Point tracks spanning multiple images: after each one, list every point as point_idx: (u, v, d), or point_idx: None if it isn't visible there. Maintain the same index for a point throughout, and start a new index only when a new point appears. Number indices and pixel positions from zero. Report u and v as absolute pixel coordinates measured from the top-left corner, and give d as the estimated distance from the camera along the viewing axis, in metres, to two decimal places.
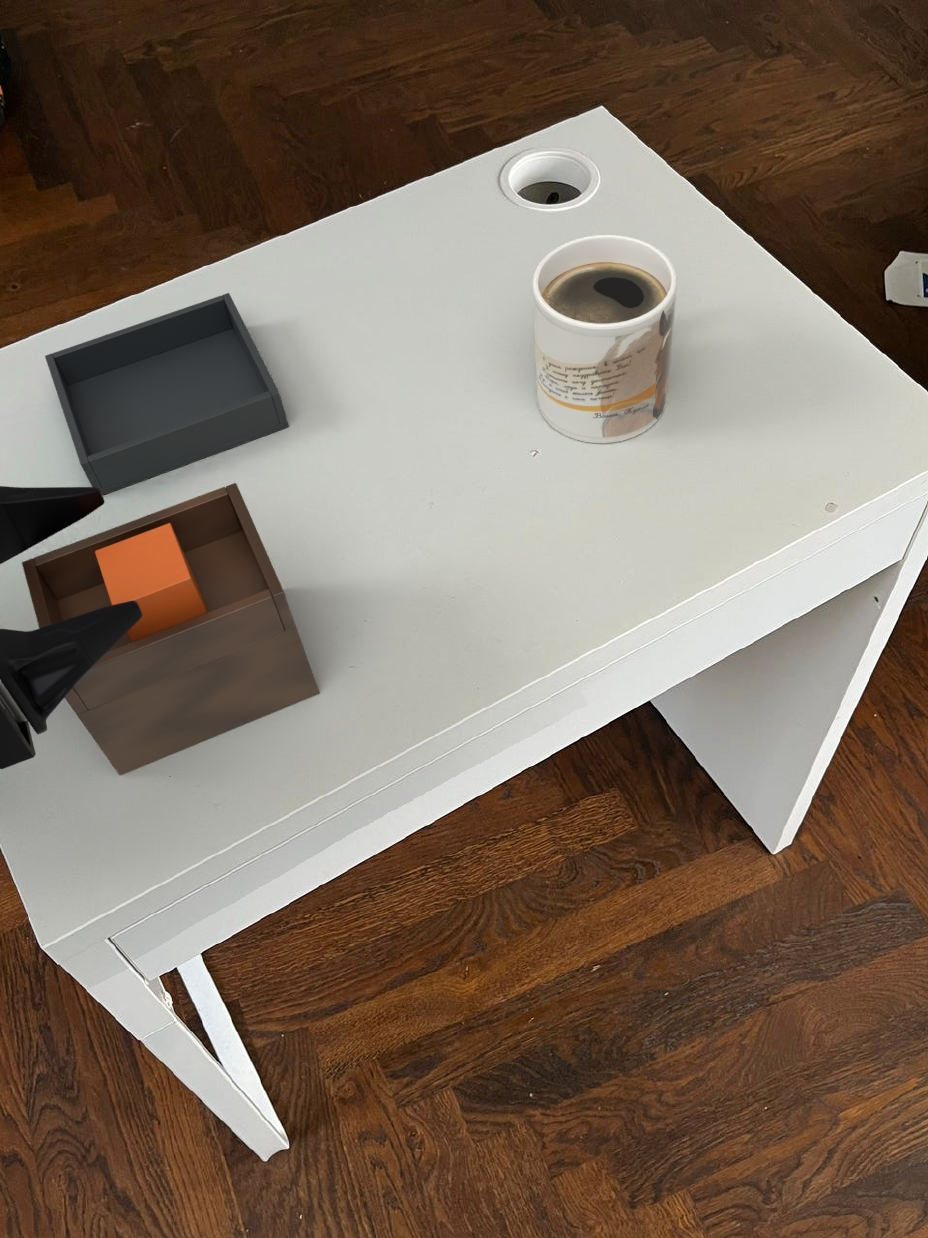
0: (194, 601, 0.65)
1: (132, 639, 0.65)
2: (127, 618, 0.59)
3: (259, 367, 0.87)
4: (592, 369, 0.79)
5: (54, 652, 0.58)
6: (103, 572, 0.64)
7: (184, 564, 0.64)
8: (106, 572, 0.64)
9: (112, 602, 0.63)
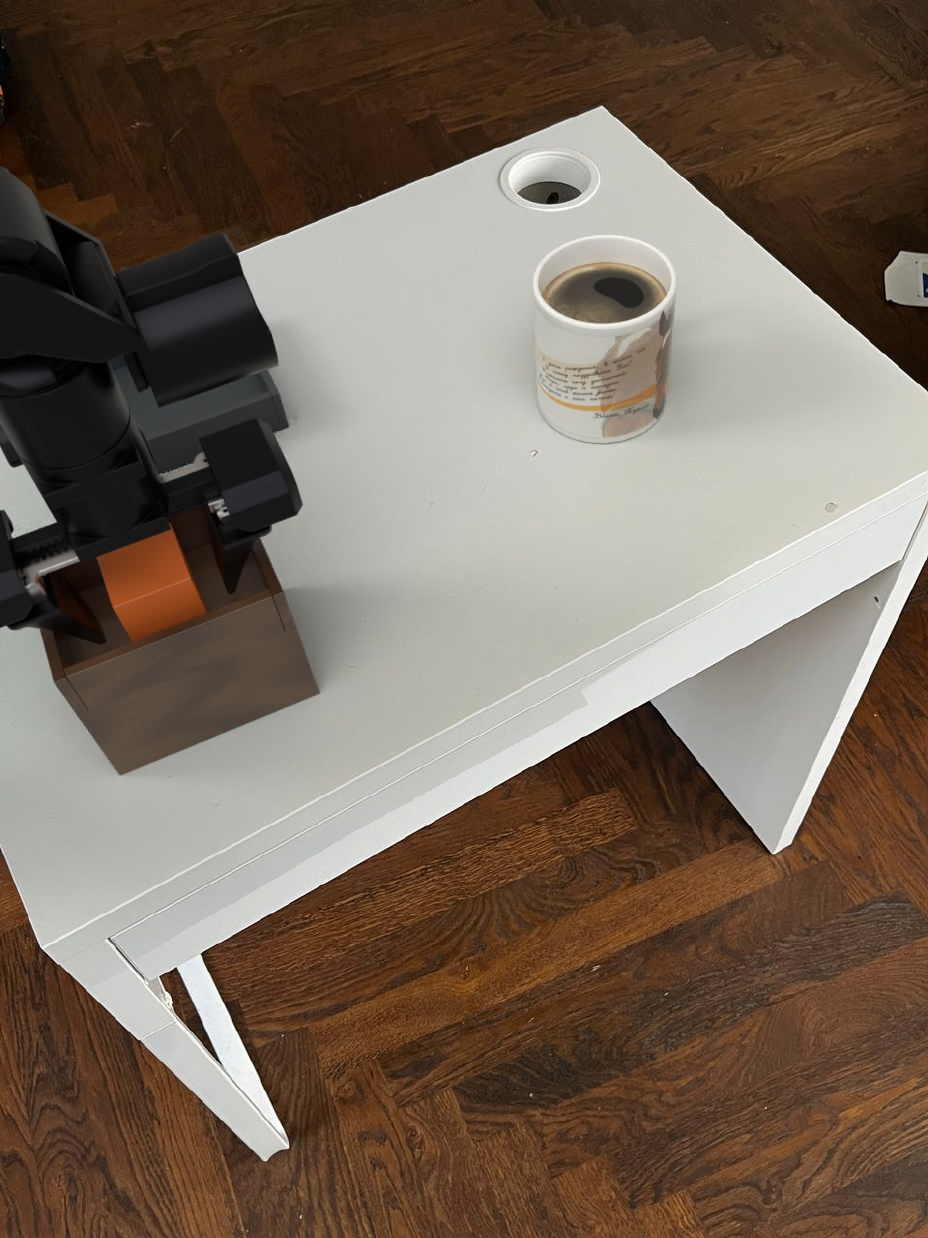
0: (194, 601, 0.65)
1: (132, 639, 0.65)
2: None
3: None
4: (592, 369, 0.79)
5: None
6: (103, 572, 0.64)
7: (184, 564, 0.64)
8: (106, 572, 0.64)
9: (112, 602, 0.63)
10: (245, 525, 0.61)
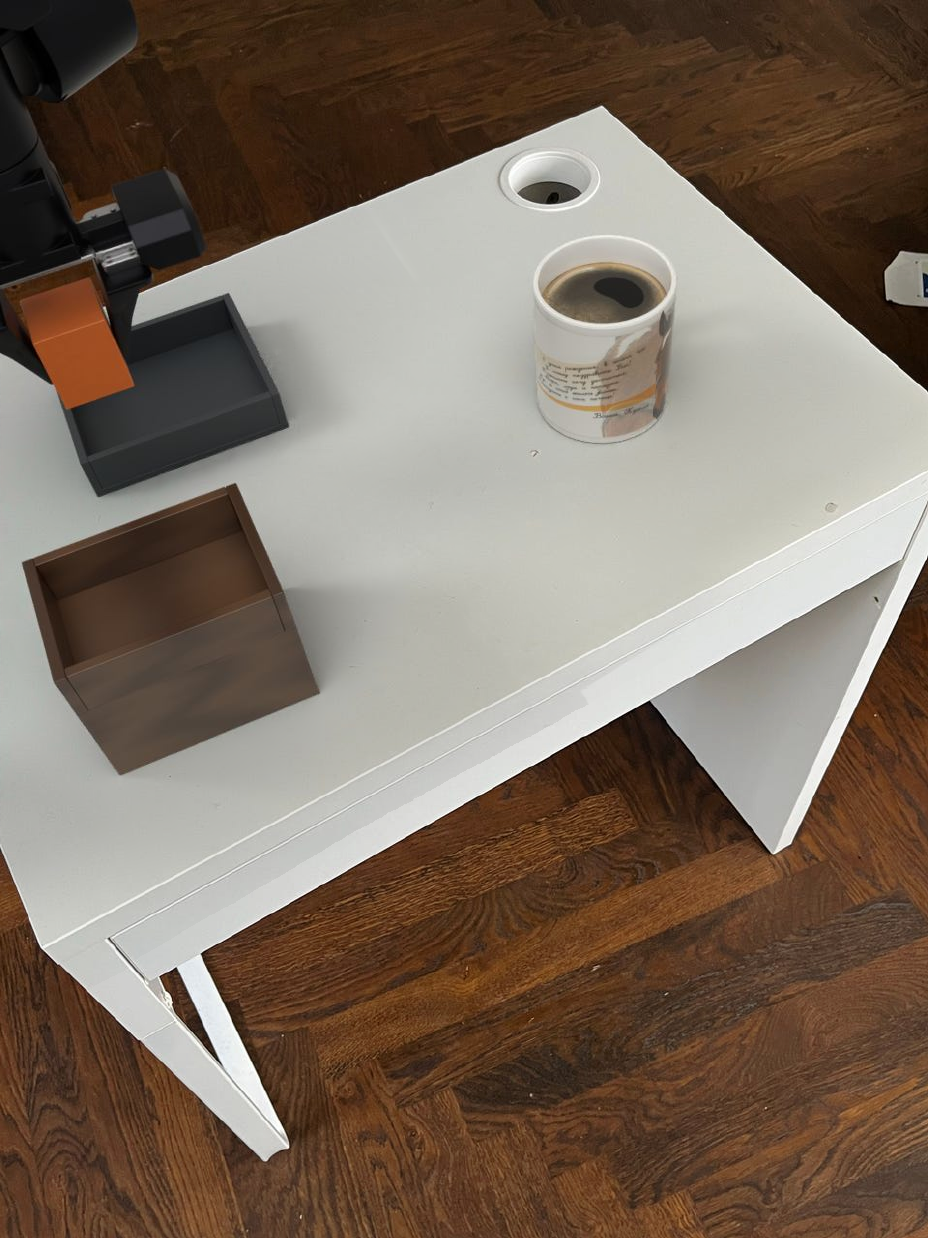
0: (110, 346, 0.71)
1: (54, 382, 0.71)
2: None
3: (259, 367, 0.87)
4: (592, 369, 0.79)
5: None
6: (26, 316, 0.70)
7: (100, 309, 0.70)
8: (28, 316, 0.70)
9: (32, 339, 0.69)
10: (151, 261, 0.66)
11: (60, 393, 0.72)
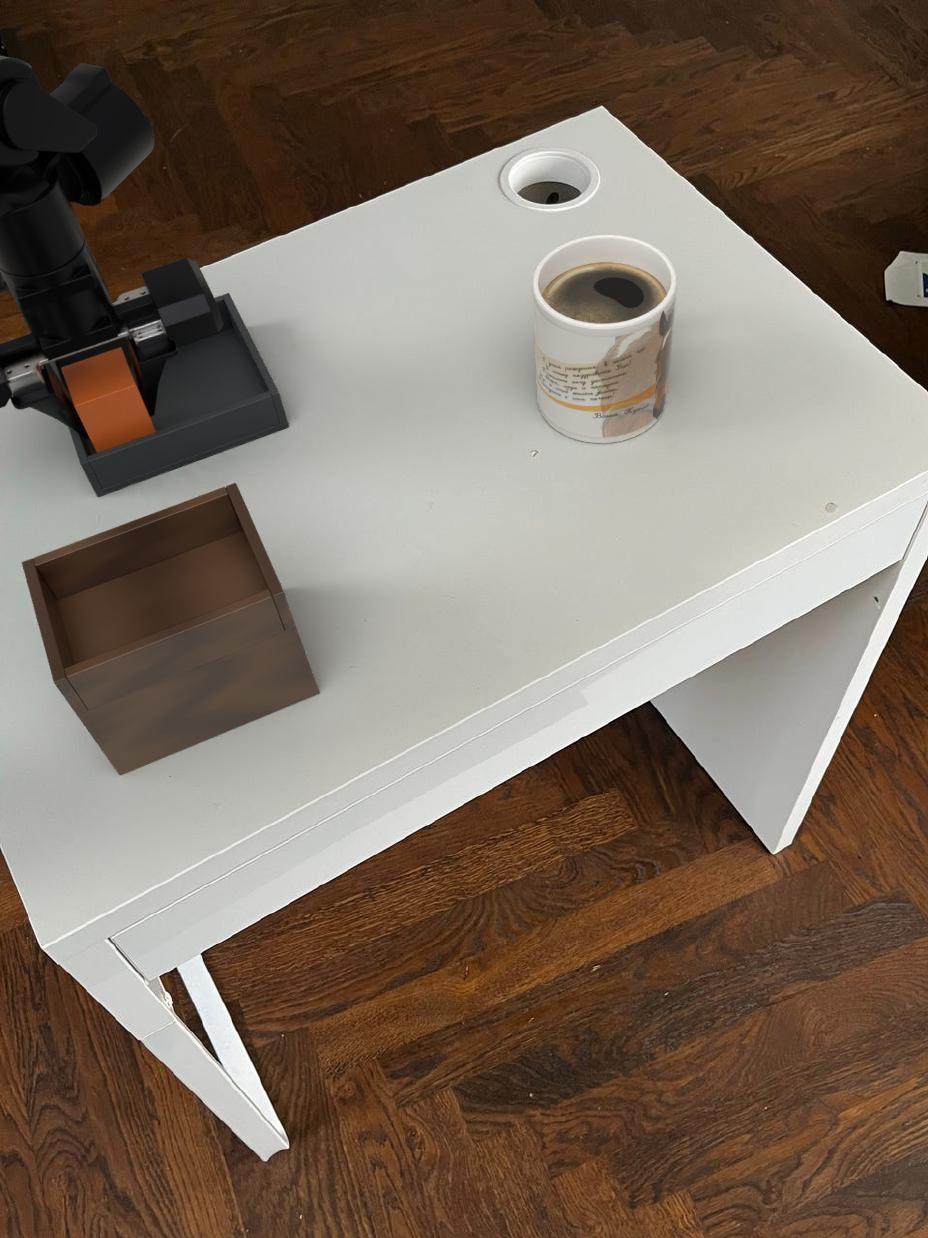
0: (139, 406, 0.82)
1: (90, 437, 0.83)
2: None
3: (259, 367, 0.87)
4: (592, 369, 0.79)
5: None
6: (67, 382, 0.82)
7: (131, 375, 0.82)
8: (69, 382, 0.82)
9: (74, 402, 0.80)
10: (177, 338, 0.78)
11: (96, 446, 0.83)
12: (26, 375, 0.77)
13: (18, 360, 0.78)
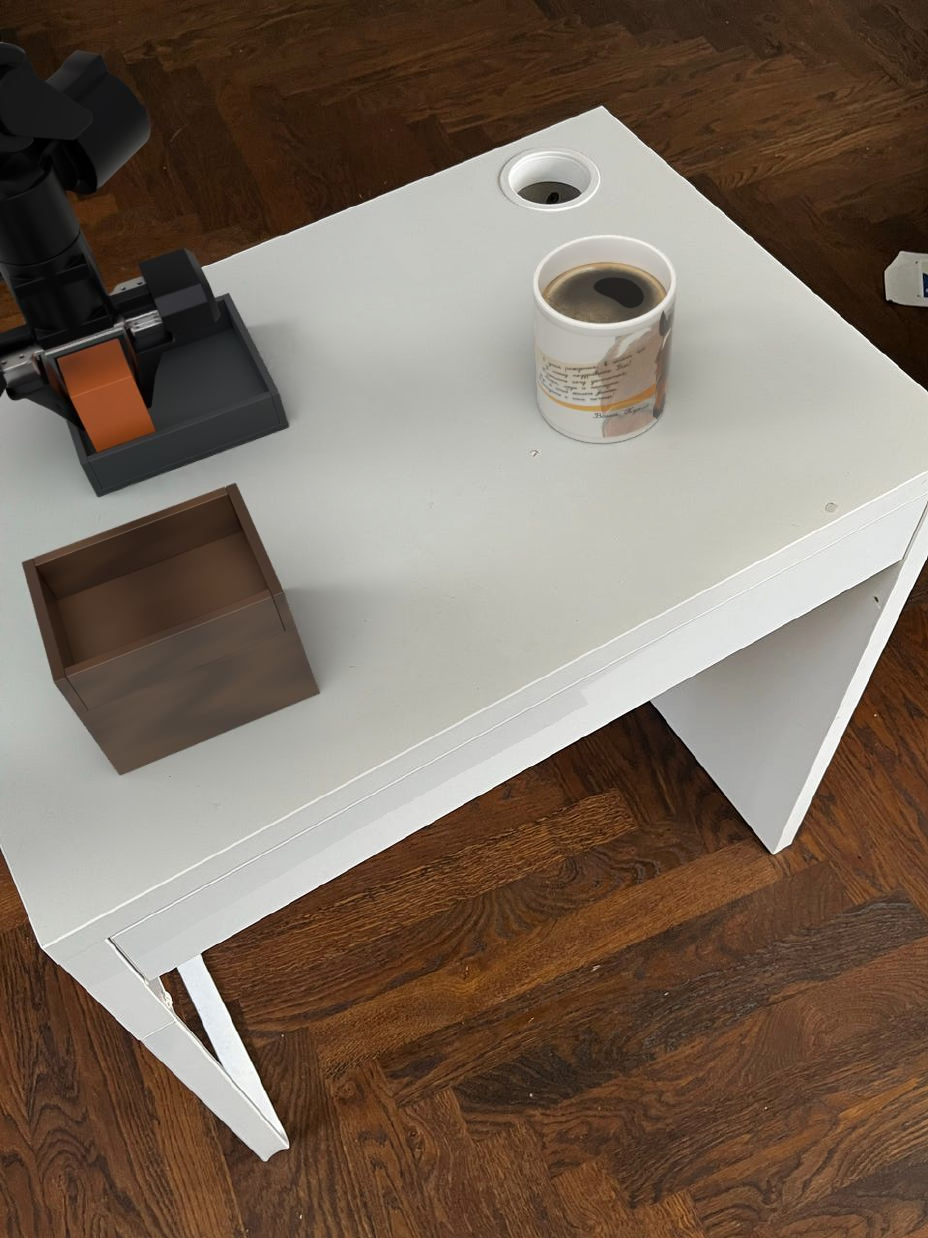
0: (136, 398, 0.82)
1: (87, 429, 0.82)
2: None
3: (259, 367, 0.87)
4: (592, 369, 0.79)
5: None
6: (63, 373, 0.81)
7: (127, 366, 0.81)
8: (65, 373, 0.81)
9: (70, 393, 0.80)
10: (173, 328, 0.78)
11: (92, 438, 0.83)
12: (21, 366, 0.76)
13: (13, 351, 0.77)
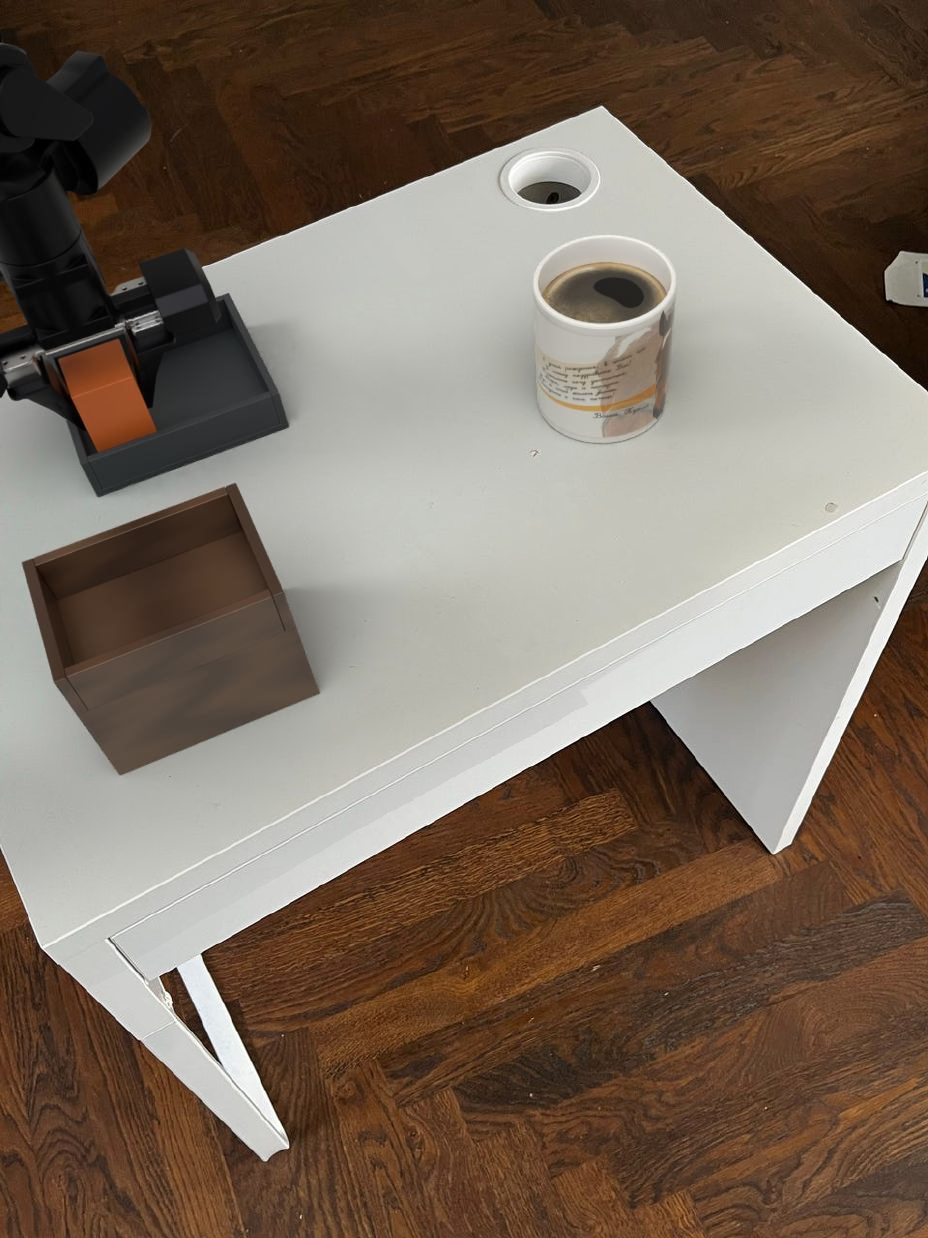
0: (137, 398, 0.82)
1: (88, 429, 0.82)
2: None
3: (259, 367, 0.87)
4: (592, 369, 0.79)
5: None
6: (64, 373, 0.81)
7: (128, 367, 0.81)
8: (66, 373, 0.81)
9: (71, 394, 0.80)
10: (174, 328, 0.78)
11: (93, 438, 0.83)
12: (22, 366, 0.76)
13: (14, 351, 0.77)
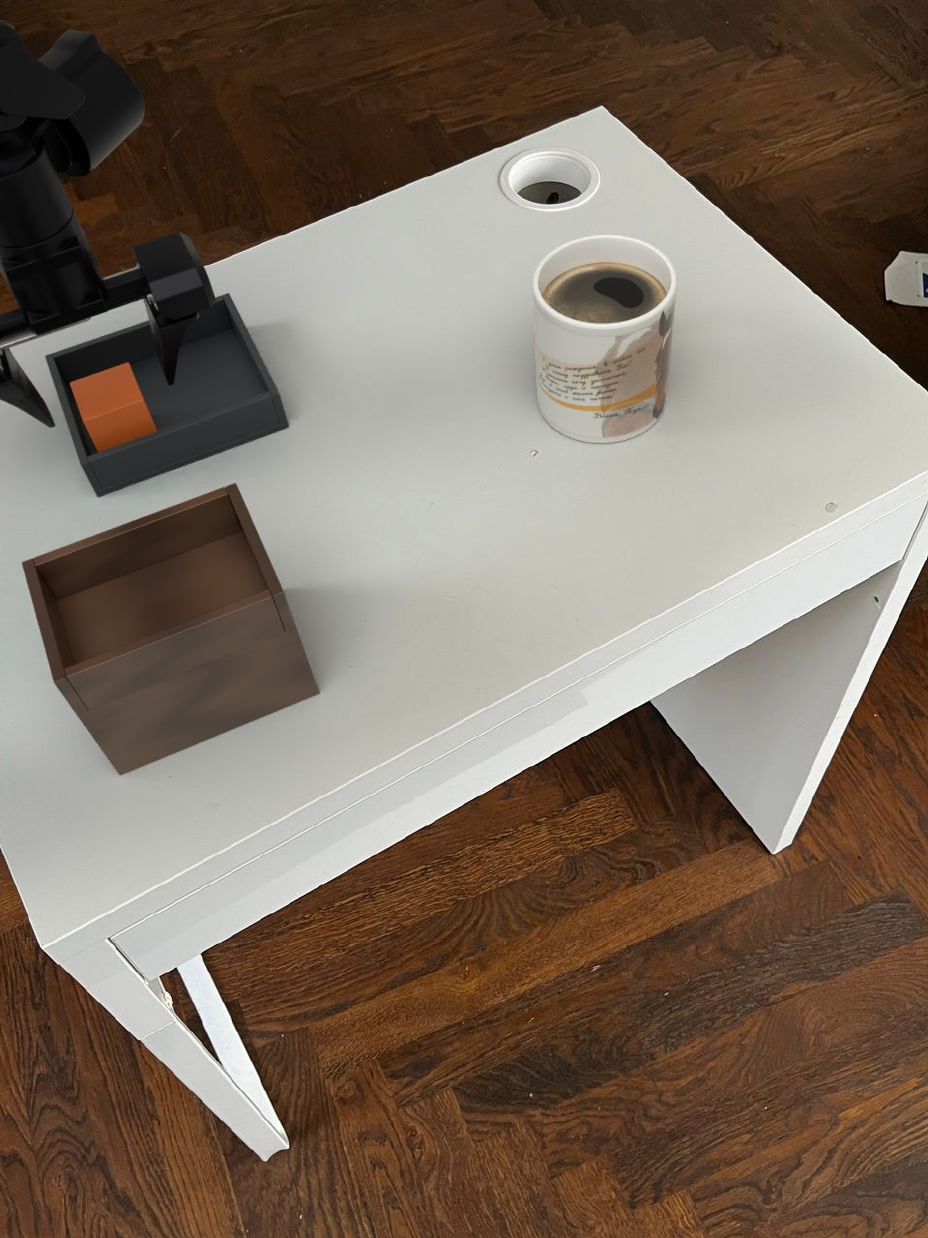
0: (147, 421, 0.84)
1: (99, 451, 0.84)
2: None
3: (259, 367, 0.87)
4: (592, 369, 0.79)
5: None
6: (76, 397, 0.83)
7: (138, 390, 0.83)
8: (78, 397, 0.83)
9: (82, 417, 0.82)
10: (168, 313, 0.77)
11: None
12: None
13: None
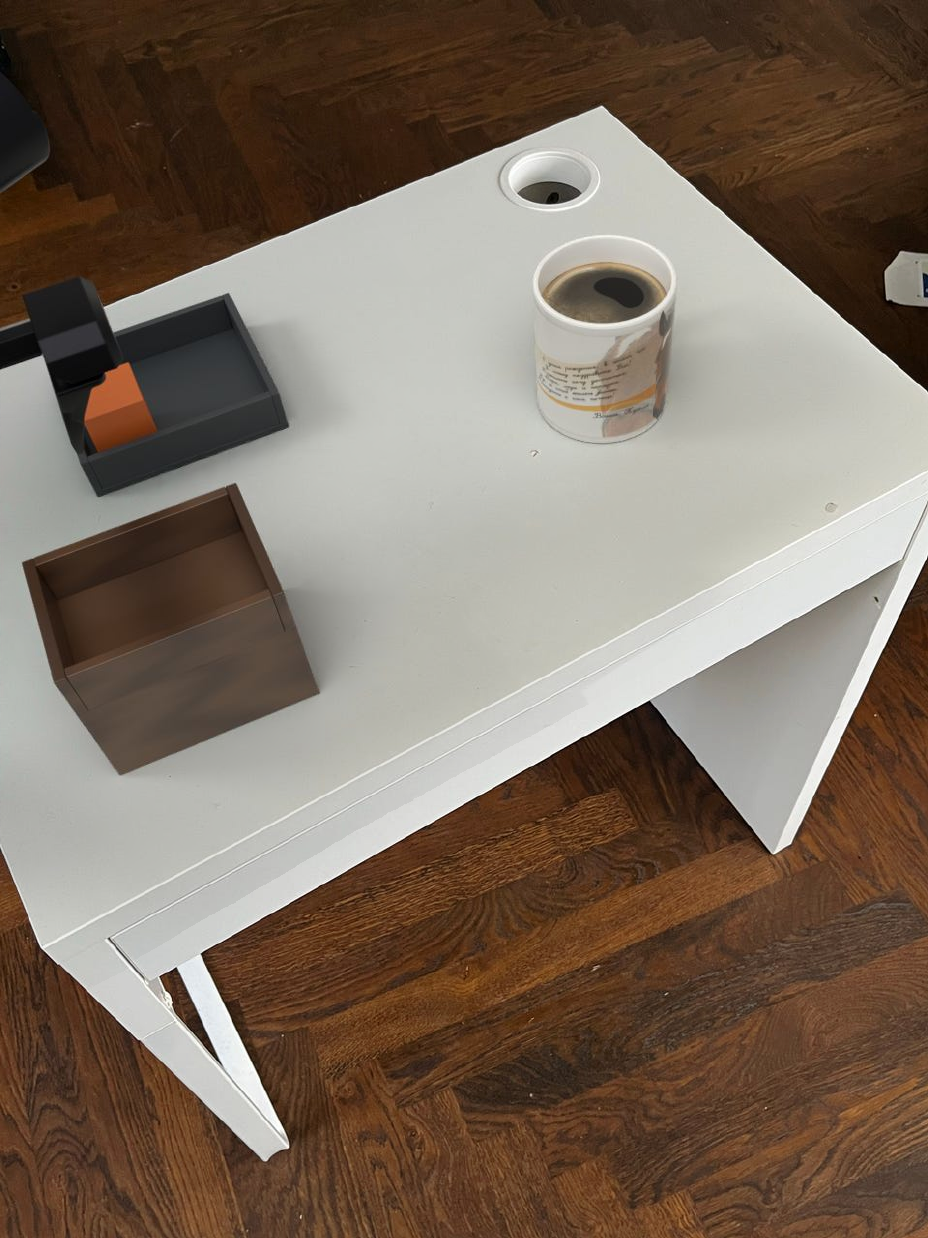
0: (147, 421, 0.84)
1: (99, 451, 0.84)
2: None
3: (259, 367, 0.87)
4: (592, 369, 0.79)
5: None
6: None
7: (138, 390, 0.83)
8: None
9: None
10: (64, 376, 0.63)
11: None
12: None
13: None
